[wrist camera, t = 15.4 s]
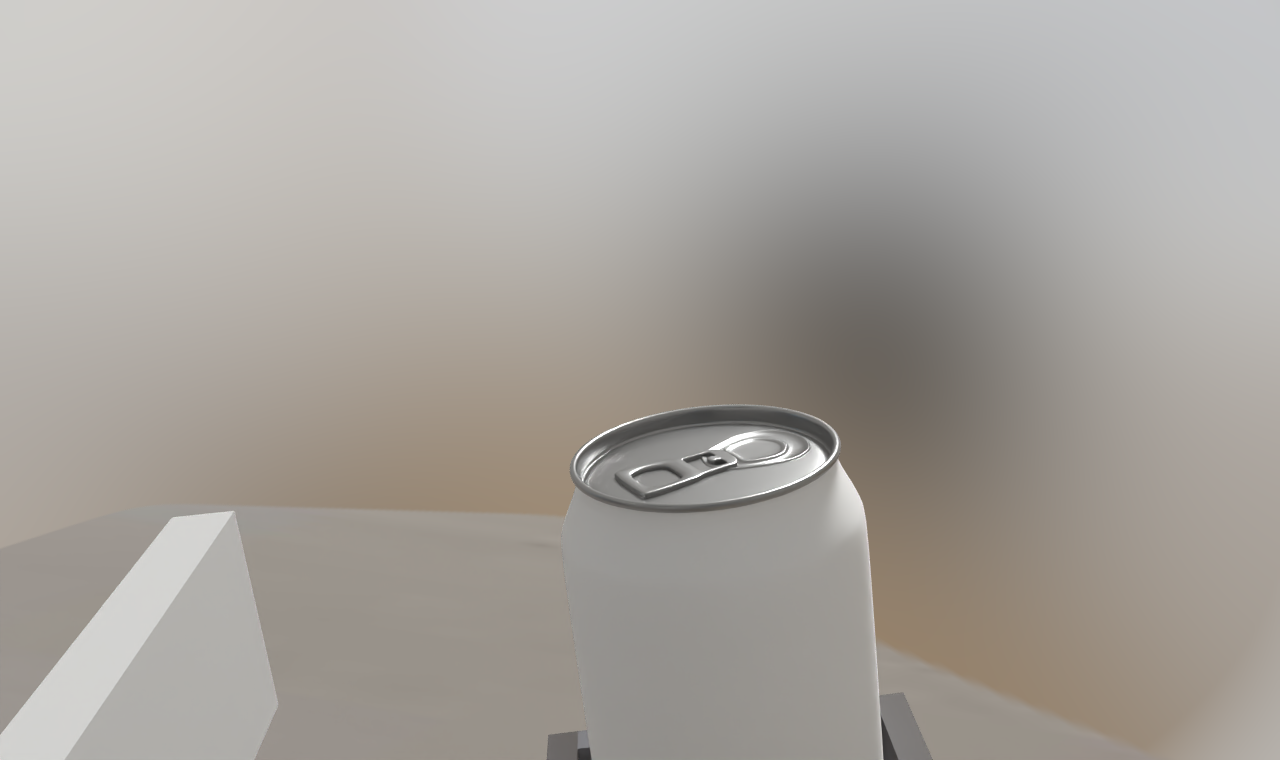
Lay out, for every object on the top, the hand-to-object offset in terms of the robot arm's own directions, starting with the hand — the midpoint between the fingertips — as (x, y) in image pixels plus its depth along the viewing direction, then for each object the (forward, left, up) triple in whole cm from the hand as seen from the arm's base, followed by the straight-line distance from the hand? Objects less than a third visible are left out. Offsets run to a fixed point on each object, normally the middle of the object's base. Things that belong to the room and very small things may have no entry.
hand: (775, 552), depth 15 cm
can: (0, +10, -15) cm, 18 cm away
